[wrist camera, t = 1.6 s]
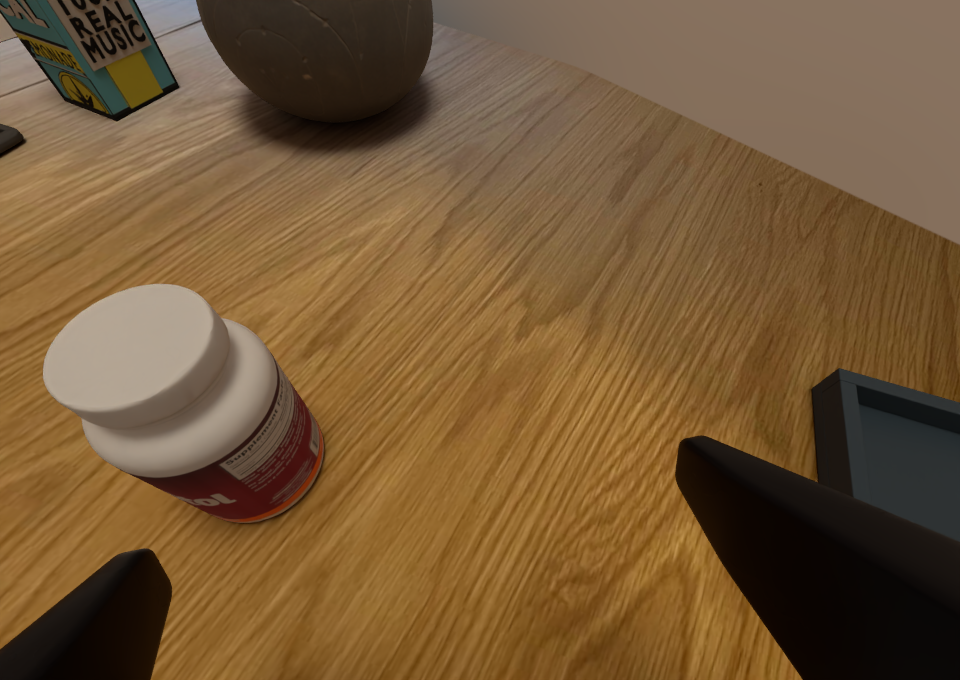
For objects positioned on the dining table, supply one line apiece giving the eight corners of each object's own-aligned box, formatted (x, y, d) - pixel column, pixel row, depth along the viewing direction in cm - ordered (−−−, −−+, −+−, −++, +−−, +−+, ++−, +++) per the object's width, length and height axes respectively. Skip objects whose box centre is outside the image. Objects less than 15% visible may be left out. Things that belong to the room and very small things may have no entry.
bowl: (303, 49, 48) (258, -115, 38) (461, 75, 46) (460, -93, 36) (203, 136, 38) (105, -53, 28) (398, 175, 36) (370, -16, 26)
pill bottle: (171, 486, 22) (-42, 373, 13) (262, 388, 25) (145, 241, 16) (267, 553, 20) (104, 478, 11) (352, 439, 23) (279, 308, 14)
